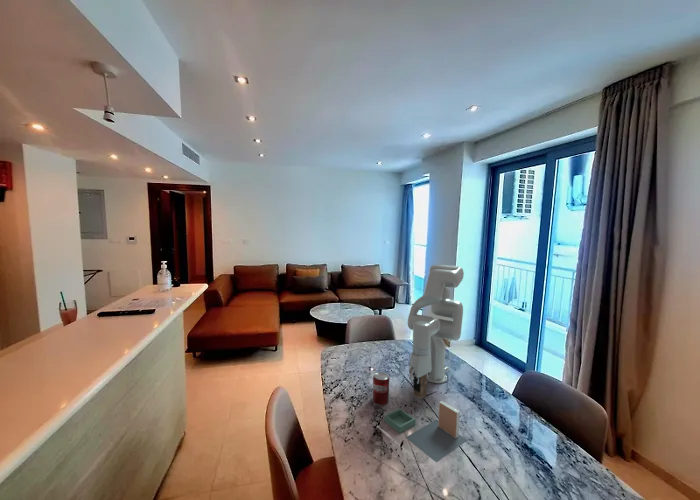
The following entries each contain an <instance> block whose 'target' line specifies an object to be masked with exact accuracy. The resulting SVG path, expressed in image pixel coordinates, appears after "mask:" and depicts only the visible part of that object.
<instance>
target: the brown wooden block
mask: <svg viewBox="0 0 700 500" xmlns="http://www.w3.org/2000/svg"><path fill="white" fill-rule="evenodd" d="M416 379H417V378H416ZM419 383H420V392H417V391H416V390H414V389H413V396H415V397H417V398H418V399H420V400H422V399H425V398H427V397H428V396H427V394H428V381H427V374H425V375H423V376H421V377H420V381H419ZM426 396H427V397H426ZM424 397H425V398H424Z"/></svg>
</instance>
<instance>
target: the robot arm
mask: <svg viewBox="0 0 700 500" xmlns="http://www.w3.org/2000/svg"><path fill="white" fill-rule="evenodd" d="M464 274H465V273H464V269H463V268H462V267H461V266H459V265H447V264H434V265H431V266H430V268H429V274H428V277H427V281H426V286H425V288H424V289H425V290H424V294H423V295H422V296H421V297H419V298H417V299H416V301H414V302H413V303H412V304H411V307H410V311H409V314H408V318H407V327H408V329H410V330H411V331H412V352H411V354H410V358H409V364H408V365H409V367H408V373H409V376H408V379H409V380H410V381H412V382H413V391H414V390H416V391H417V392H420V383H419V381H420V377H421V376H423V375H425V374H427V382H429V383H433V384H443V383H446V382H447V380H448V377H447V374H446V373H447V371H450V367H449V366H446V365H445V363H446V343H445V341H444V340H449V341H456V342H458V340H460V339H461V335H462V334H461V333H462V327H463V326H462V325H463V319H464V318H463V317H464V316H463V315H464V306H463V303H462V302H461V301H460V300H455V299H450V295H451V290H450V288H453V289H456V288H458V287H459V286H460V284H461V282H462V281H463V279H464ZM428 306H431V307H430V308H431V309H430V311H431V313H432V315H433V316H437V317H439V318H437V317H433V316H429V315H423V314H418V313H419V312H420V310H421V309H423V308H425V307H428ZM440 317H441V318H440ZM443 318H447V319H443ZM448 319H452V320H448ZM416 378H417V379H416Z"/></svg>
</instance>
